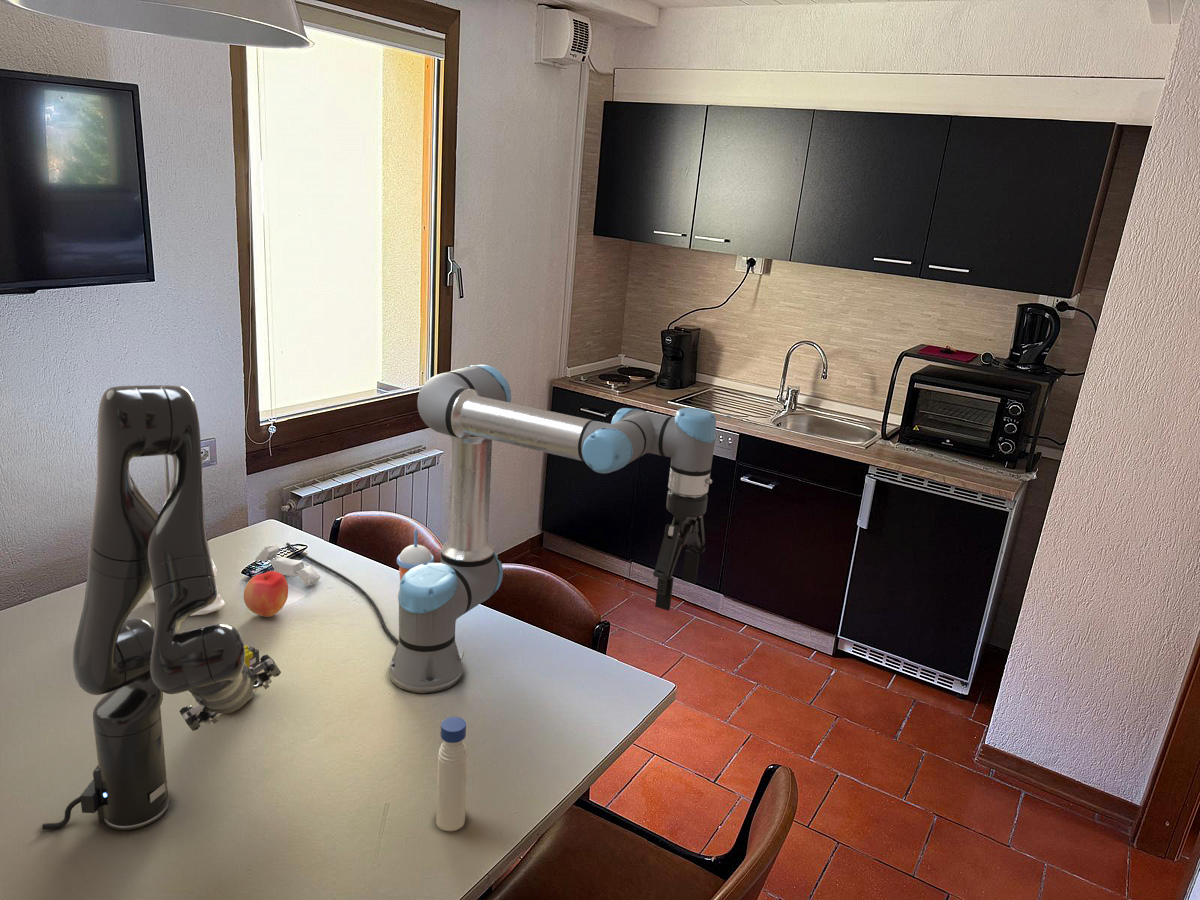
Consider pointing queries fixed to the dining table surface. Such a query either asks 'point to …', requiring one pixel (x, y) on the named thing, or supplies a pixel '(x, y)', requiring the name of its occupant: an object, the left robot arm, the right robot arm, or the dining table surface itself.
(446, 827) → the bottle
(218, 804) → the dining table surface
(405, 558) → the cup with straw
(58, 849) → the dining table surface
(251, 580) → the apple
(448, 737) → the cap
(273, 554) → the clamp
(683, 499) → the right robot arm
